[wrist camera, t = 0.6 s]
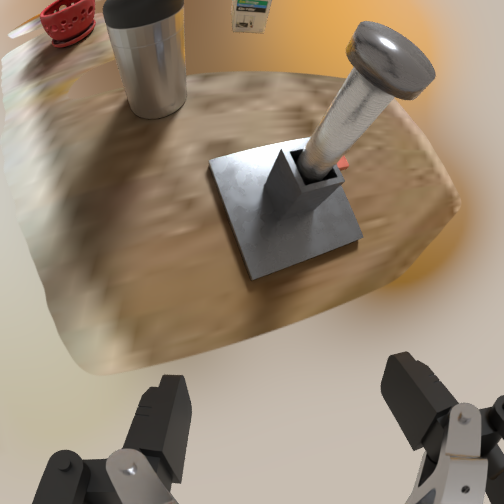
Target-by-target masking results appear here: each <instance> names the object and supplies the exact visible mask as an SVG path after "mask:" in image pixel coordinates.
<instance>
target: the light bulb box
mask: <svg viewBox="0 0 504 504" xmlns="http://www.w3.org/2000/svg"><path fill="white" fill-rule="evenodd" d="M271 2H272V0H232V8H231V18H232V29H233V32H248V33H262V34H263V33H264V31H265V26H266V22H267V18H268V13H269V10H270V6H271Z"/></svg>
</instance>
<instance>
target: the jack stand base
mask: <svg viewBox="0 0 504 504" xmlns="http://www.w3.org/2000/svg"><path fill="white" fill-rule="evenodd" d="M310 138H311V137H308V138H303V139H297V140H292V141H287V142H282V143H277V144H272V145H268V146H263V147H259V148H255V149H250V150H246V151H242V152H238V153H234V154H230V155H226V156H222V157H219V158H215V159H211V160H209V168H210V170H211V173H212V176H213V179H214V182H215V184H216V187H217V190H218V193H219V195H220V198H221V201H222V204H223V207H224V209H225V212H226V215H227V217H228V220H229V223H230V226H231V228H232V231H233V234H234V237H235V239H236V242H237V245H238V248H239V250H240V253H241V256H242V258H243V261H244V264H245V266H246V269H247V272H248V274H249V277H250V280H251V281H252V280H255V279H257V278H260V277H263V276H266V275H268V274H271V273H274V272H276V271H279V270H282V269H284V268H287V267H290V266H292V265H295V264H298V263H300V262H303V261H305V260H308V259H311V258H313V257H316V256H318V255H321V254H324V253H326V252H329V251H331V250H334V249H336V248H339V247H341V246H344V245H346V244H349V243H351V242H354V241H356V240H359V239H361V238H363V235H362V232H361V230H360V227H359V225H358V222H357V220H356V218H355V215H354V213H353V211H352V208H351V206H350V204H349V202H348V199H347V197H346V195H345V193H344V191H343V188H342V186H341V185H342V184H343V183H344V182H345V180H344V178H343V176H342V174H341V172H340V170H344V169H347V168H348V167H349V164H348V162H347V160H346V158H345V156H343V157H342V158H341V159H340V160H339V161H338V162H337V164H336V165H335V166H334V167H333V168H332V169H331V170H330V172H329V173H328V174H327V175H326V176H325V177H324V178H323V179H322V181H321V182H317V183H313V184H309V185H306V186H305V184H304V182H303V180H302V178H301V176H300V174H299V171H298V169H297V167H296V165H295V163H296V161H297V159H298V158H299V156H300V154H301V153H302V151H303V149H304V148H305V146H306V144H307V143H308V141H309V140H310Z"/></svg>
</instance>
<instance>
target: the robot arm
mask: <svg viewBox="0 0 504 504" xmlns="http://www.w3.org/2000/svg"><path fill="white" fill-rule="evenodd" d="M103 15H104V19H105V23H106V26H107V30H108V34H109V38H110V41H111V45H112V48H113V52H114V55H115V59H116V62H117V65H118V69H119V72H120V76H121V79H122V82H123V85H124V89H125V92H126V95H127V98H128V101H129V104H130V107H131V109H132V111H133V113H135V114H136V115H137V116H139V117H142V118H146V119H157V118H161V117H165V116H168V115H170V114H172V113H174V112H175V111H177V110H178V109H179V108H180V107H181V106H182V105H183V104H184V102H185V100H186V97H187V87H186V65H185V43H184V42H185V39H184V0H107V1H106V2H105V4H104V6H103ZM381 393H382V396H383V398H384V400H385V401H386V403H387V405H388V406H389V408H390V410H391V412H392V413H393V415H394V417H395V418H396V420H397V422H398V424H399V426H400V427H401V429H402V431H403V433H404V435H405V436H406V438H407V440H408V442H409V444H410V445H411V447H412V449H413V450H414V451H415V450H417V449H420V448H422V447H424V448H425V450H426V451H425V452H424V454H423V457H422V461H421V465H420V468H419V472H418V475H417V479H416V482H415V485H414V488H413V491H412V493H411V495H410V496H409V498H408V499H407V501H406V503H405V504H483V500H484V494H485V492H486V494H487V496H488V498H489V500H490V502H491V504H504V454H503V452H502V451H501V449H500V448H499V446H498V444H497V443H498V442H499V441H500V439H501V438H503V439H504V395H503V396H500V397H499V398H498V399H497V400H496V402H495V403H494V405H493V406H492V407H489V408H484V409H479V410H478V408H476V407H475V406H474V405H472V404H469V403H460V404H459V403H458V402H457V400H456V399H455V398H454V397H453V396H452V394H451V393H450V392H449V391H448V389H447V388H446V387H445V386H444V385H443V384H442V382H441V381H439V379H438V377H437V376H436V375H434V373H433V372H432V371H431V369H430V368H429V367H428V366H427V365H425V364H424V363H422V362H420V361H418V360H417V361H416V360H415V359H414V358H413V357H412V356H411V355H410V353H409V352H402V353H398V354H394V355H390V356H389V358H388V360H387V364H386V368H385V371H384V375H383V378H382V381H381ZM138 406H139V407H138V408H137V410H136V413H135V416H134V418H133V421H132V424H131V427H130V429H129V432H128V435H127V437H126V440H125V443H124V446H123V448H122V449H120V450H117V451H115V452H114V453H112V454H111V455H110V456H109V458H107V459H92V460H82V459H81V457H80V456H79V455H78V454H76V453H75V452H73V451H70V450H61V451H58V452H56V453H54V454H53V455H52V456H51V457H50V459H49V461H48V464H47V466H46V468H45V471H44V474H43V476H42V478H41V481H40V483H39V486H38V489H37V492H36V494H35V497H34V500H33V503H32V504H178V502H177V501H176V500H175V499H174V497H173V496H172V494H171V493H170V490H171V484H172V483H180V484H181V481H182V474H183V467H184V460H185V454H186V447H187V441H188V434H189V428H190V423H191V416H192V406H191V401H190V397H189V394H188V390H187V386H186V382H185V378H184V376H183V375H163V376H162V379H161V382H160V385H159V387H150V388H149V389H148V390H147V391H146V392H145V393H144V394H143V395H142V397H141V400H140V402H139V405H138Z"/></svg>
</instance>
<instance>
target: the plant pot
mask: <svg viewBox="0 0 504 504" xmlns="http://www.w3.org/2000/svg"><path fill="white" fill-rule="evenodd" d="M71 3H74V5H71ZM62 5H66V6H67V8H65V9H63V10H61V11H59V8H60V6H62ZM55 10H56V13H54V11H55ZM94 14H95V0H81V1H80V0H57V1H55V2H53V3H52V4H51V5H49V6H48V7H47V8H45V9H44V10H43V11H42V12H41V14H40V19H41V23H42V25H43V27H44V29H45V31H46V32H47V34H48V35H49V36H50V37H51V38H53V40H52V45H53V46H55V47H59V48H60V47H66V46H69V45H72V44H74V43H76V42H78V41H80V40H81V39H83V38H84V37H86V36H87V35H88V34H89V33H90V32H91V31H92V30H93V29H94V27H95V24H96V22H95V20H93V18H94Z"/></svg>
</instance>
